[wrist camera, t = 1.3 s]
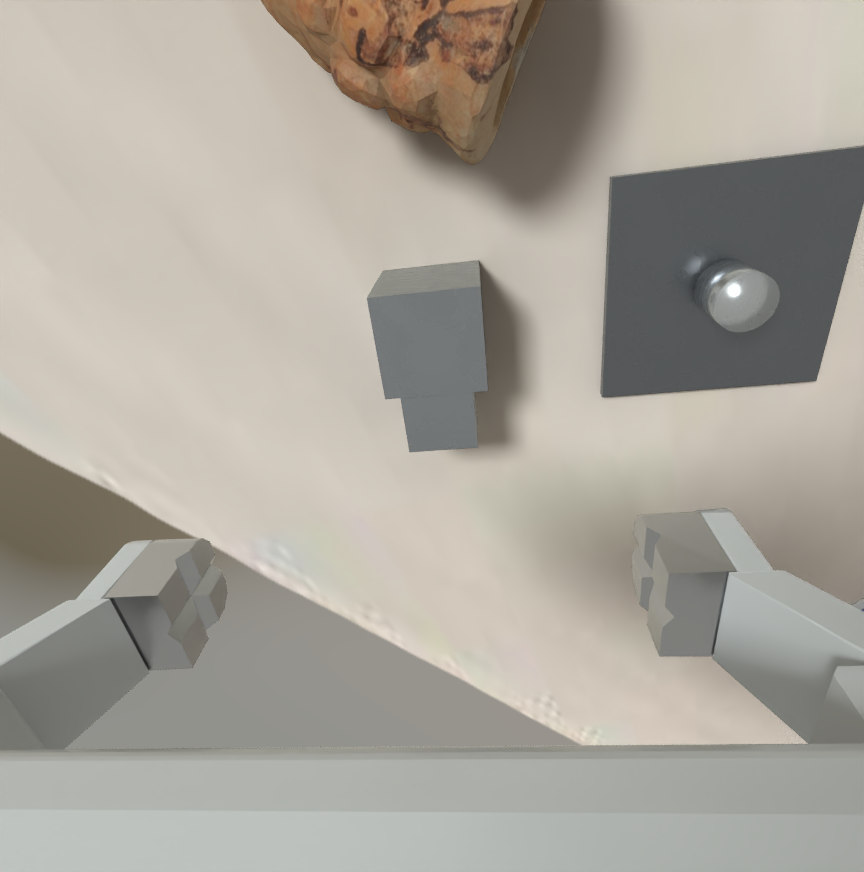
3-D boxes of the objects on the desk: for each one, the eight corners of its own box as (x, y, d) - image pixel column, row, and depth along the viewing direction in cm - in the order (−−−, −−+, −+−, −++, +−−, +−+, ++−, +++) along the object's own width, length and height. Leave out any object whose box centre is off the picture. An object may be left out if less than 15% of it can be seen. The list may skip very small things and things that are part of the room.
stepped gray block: (383, 270, 34) (366, 297, 29) (478, 260, 34) (480, 286, 28) (405, 410, 39) (395, 454, 34) (489, 403, 39) (492, 448, 33)
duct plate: (609, 176, 31) (627, 183, 27) (871, 144, 29) (925, 147, 26) (600, 393, 38) (613, 420, 34) (811, 377, 36) (847, 403, 33)
